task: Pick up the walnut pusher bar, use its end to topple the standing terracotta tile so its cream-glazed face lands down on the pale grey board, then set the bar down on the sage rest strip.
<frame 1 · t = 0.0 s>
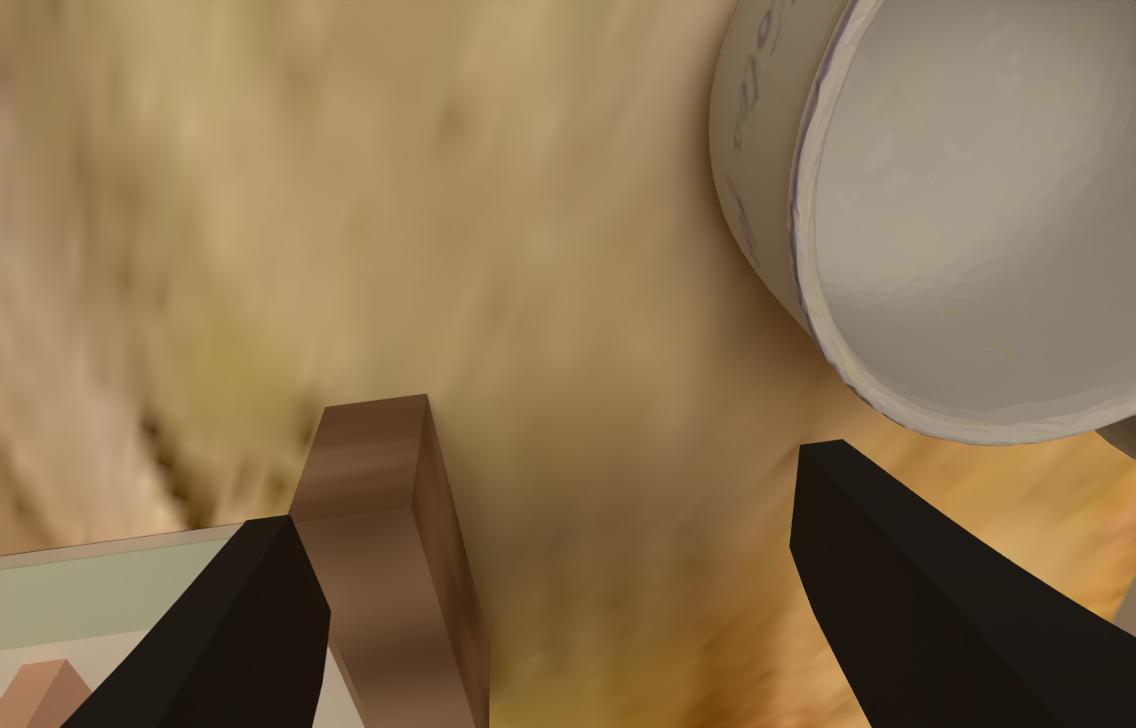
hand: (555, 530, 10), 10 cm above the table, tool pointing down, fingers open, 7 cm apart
tile: (84, 711, 26), point 1 cm above the table, touching board
teacup: (899, 130, 18), on the table
board: (113, 684, 26), on the table
pusher bar: (418, 539, 24), on the table
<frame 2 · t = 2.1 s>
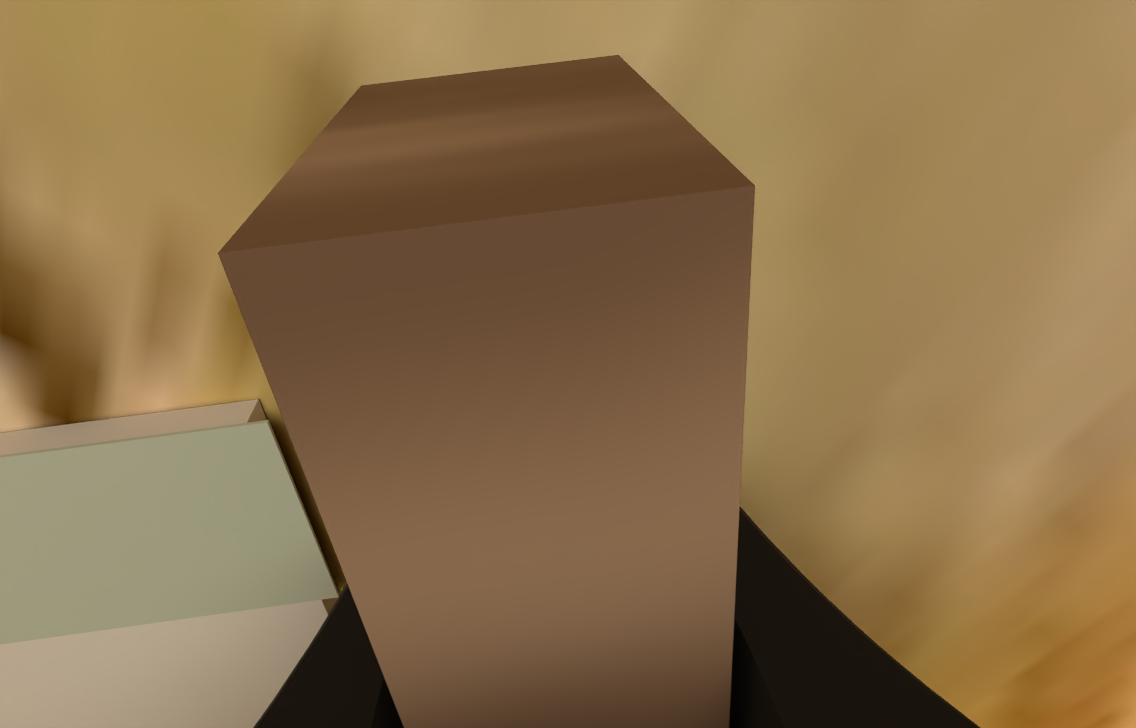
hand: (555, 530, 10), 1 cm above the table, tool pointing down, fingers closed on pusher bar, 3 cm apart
pusher bar: (547, 464, 11), on the table, touching gripper
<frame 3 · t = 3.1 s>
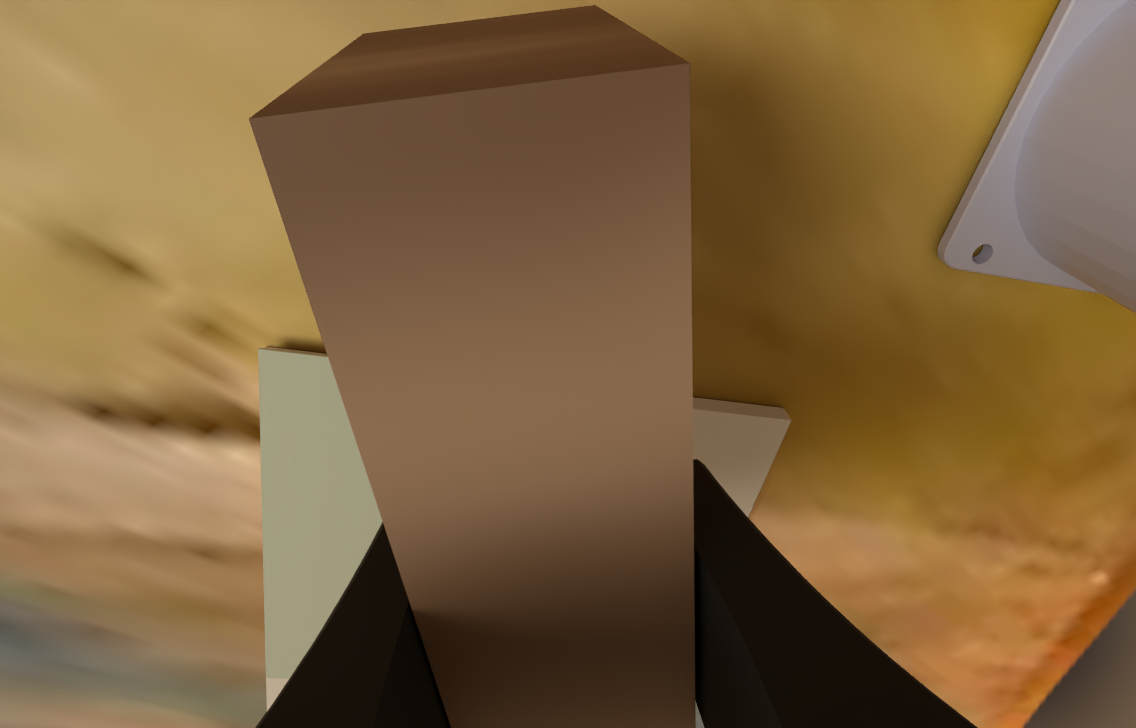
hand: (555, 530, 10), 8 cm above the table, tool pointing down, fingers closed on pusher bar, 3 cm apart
board: (495, 596, 23), on the table
pusher bar: (537, 400, 12), point 6 cm above the table, touching gripper
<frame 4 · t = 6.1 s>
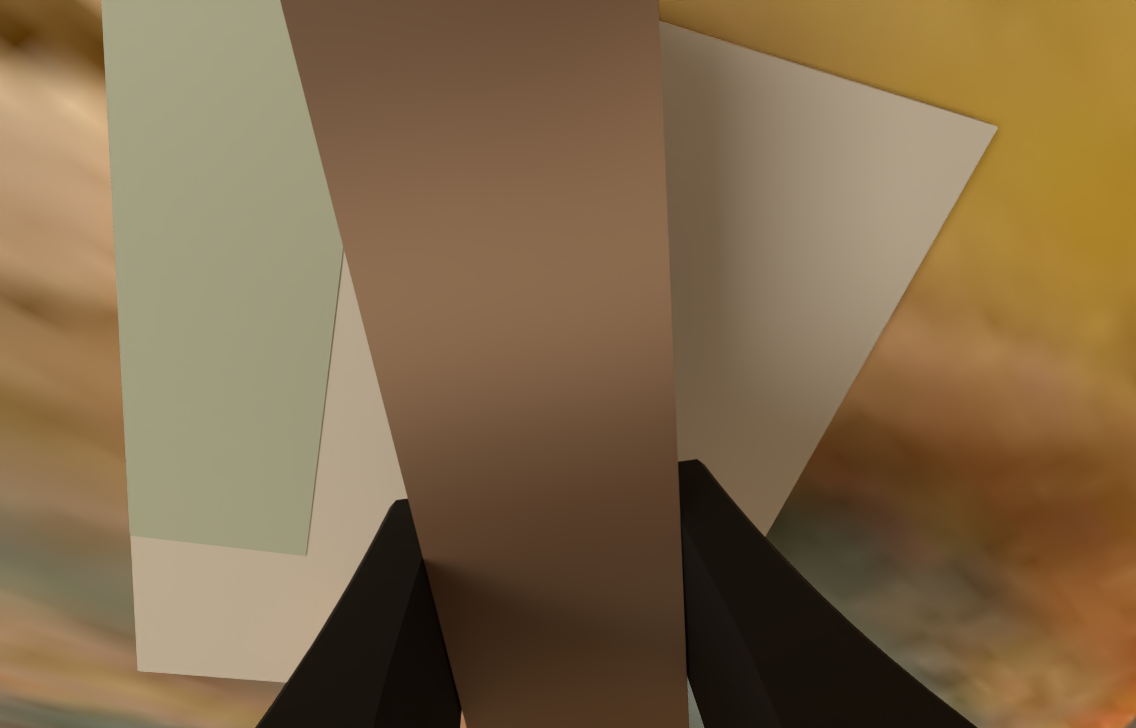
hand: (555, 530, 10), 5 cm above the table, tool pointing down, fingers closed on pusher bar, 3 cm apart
board: (491, 430, 15), on the table
pusher bar: (535, 359, 13), point 1 cm above the table, tilted 6°, touching gripper
when the fingers open (4 cm above the table, at t = 8.6 s): pusher bar stays where it is, resting on board.
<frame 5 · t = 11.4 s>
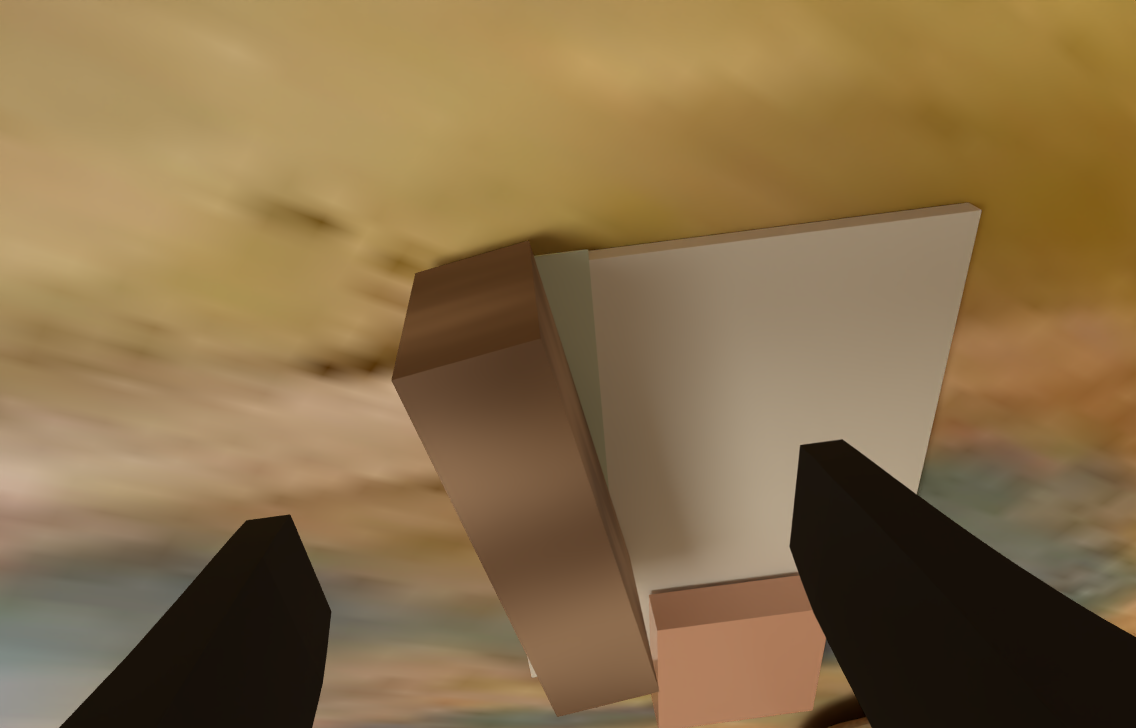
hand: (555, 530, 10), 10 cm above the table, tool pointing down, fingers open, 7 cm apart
tile: (738, 601, 24), point 2 cm above the table, tilted 90°, touching board
board: (708, 476, 23), on the table
pusher bar: (538, 436, 21), point 1 cm above the table, touching board
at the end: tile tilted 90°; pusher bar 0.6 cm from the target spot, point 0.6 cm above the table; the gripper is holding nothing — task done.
